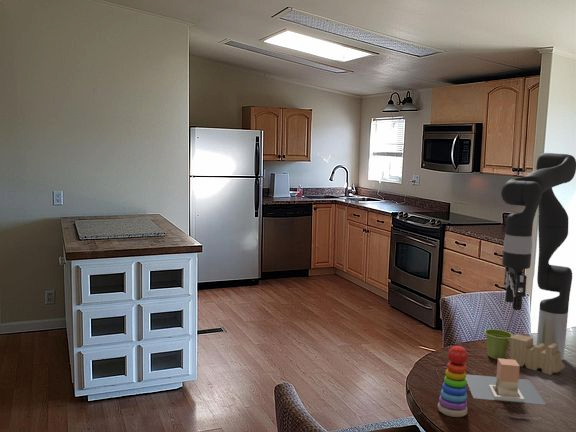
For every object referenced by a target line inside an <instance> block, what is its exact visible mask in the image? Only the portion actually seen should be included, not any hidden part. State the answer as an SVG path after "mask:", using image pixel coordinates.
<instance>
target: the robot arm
mask: <svg viewBox="0 0 576 432" xmlns="http://www.w3.org/2000/svg"><path fill="white" fill-rule="evenodd" d="M535 166H536V168H535V170H532V171H531V172H529V173H528V174H525V176H519V177H518V176H517V177H515V178H511V179H509V180H508V181H506V182H505V183H504V185H503V186H502V188H501V191H500V194H501V198H502V201H504V203H506V204H508V205H511V206H522V207H524V209H523V211H522V212H519V213H518V212H517V213H511V214H508V215H507V217H506V220H505V221H506V222H505V233H504V238H503V239H504V240H503V249H502V260H501V264H502V266H503V267H505V271H504V280H503V285H504V288H505V289H506V290H505V302H506V303H512V309H513V311H521V310H522V307H523V306H522V303H523V298H525V297H526V296H527V295H526V292H527V291H526V289H527V279H528V277H527V275H525V274H524V270H527V269H530V268H531V265H532V264H531V262H532V251H533V227H534V226H533V225H534V219H535V216H536V213H537V210H538V218H537V220H538V221H537V225H538V227H537V228H538V229H537V231H538V260H537V261H538V262H537V275H536V277H537V278H536V280H537V286H538V288H539V289H540V290H543V291H549V292H553V293H554V292H555V293H558V296H554V297H552V298H546V299H542V300H541V301H540V302H539V308H538V309H539V311H538V321H537V322H538V323H537V335H536V346H538V345H540V344H542V343H543V344H545V345H546V347H548V346H549V345H551V344H553V343H555V344H559V346H558V351H560V352H561V361H562V362H563V361H564V359H565V349H566V340H567V339H566V338H567V329H568V316H569V308H570V307H569V306H570V294H571V291H572V290H571V288H572V283H573V270H572V269H571V268H570V267H568V266H561V265H554V264H550V259H551V258H552V256H553V255H554V253H555V252H556V251H557V250H558V249H559V248H560V247H561V246H562V245H563V243H564V242H565V241H566V239H567V238H568V236H569V216H568V213H567V211H566V209H565V208H564V206H563V204H561V202H560V201H559V199H558V198H557V196H556V195H555V193H554V191H553V188H554V187H557V186H560V185H563V184H566V183H569V182H571V181H572V180H573V179H574V177H575V175H576V158H575V156H573V155H572V154H567V153H552V152H544V153H541V154H539V156H538V158H537V160H536V165H535Z"/></svg>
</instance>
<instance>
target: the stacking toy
mask: <svg viewBox="0 0 576 432" xmlns="http://www.w3.org/2000/svg"><path fill="white" fill-rule="evenodd" d="M447 355H448V359H449V362H448V363H447V364H446V368H447V369H445V373H444V374H445V376H444V378H443V381H444V382H443V383H442V388H441V390H440V395H439V398H438V403H437V409H438V411H439V412H440V413H441V414H444V415H445V416H448V417H452V418H462V417H464V416H466V415H467V414H468V401H467V399H468V393H467V385H468V384H467V381H466V379H465V378H466V374H467V373H466V371H467V365H466V364H465V363H466V362H467V360H468V352H467V350H466V349H465V347H463V346H461V345H453V346H452V347H451V348H450V349H449V350H448V352H447Z"/></svg>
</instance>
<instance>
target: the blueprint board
mask: <svg viewBox="0 0 576 432" xmlns="http://www.w3.org/2000/svg"><path fill="white" fill-rule="evenodd" d="M465 379H466V381H467V384H466V385H467V386H468V389H469V391H470V393H471V396H472V398H473V399H476V400H477V399H478V400H486V401H487V400H489V401H499V402H508V403H509V402H510V403H519V404H520V403H521V404H531V405H543V406H547V404H546V402H545V400H544V399H543V398H542V396H541V394H539V392H538V390H537V389H536V387H535V386H534V385H533V383H532V382H531V381H530V380H529V379H526V378H519V380H518V394H517V397H511V396H500V395H497V393H496V391H495V387H496V376H490V375H478V374H477V375H476V374H467V373H466V378H465Z"/></svg>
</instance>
